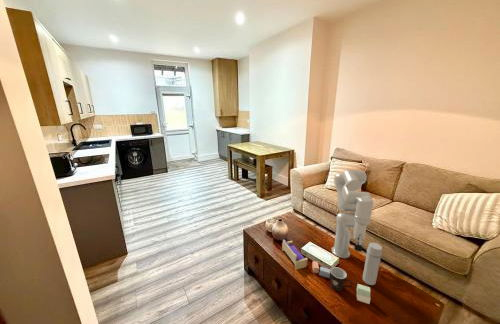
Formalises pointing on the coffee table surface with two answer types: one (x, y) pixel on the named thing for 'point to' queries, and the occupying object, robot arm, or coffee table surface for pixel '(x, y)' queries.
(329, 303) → the coffee table surface
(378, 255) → the water bottle
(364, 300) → the cream brick
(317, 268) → the terracotta brick
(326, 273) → the slate brick
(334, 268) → the coffee mug
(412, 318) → the coffee table surface
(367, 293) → the sage brick
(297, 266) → the toy sofa
